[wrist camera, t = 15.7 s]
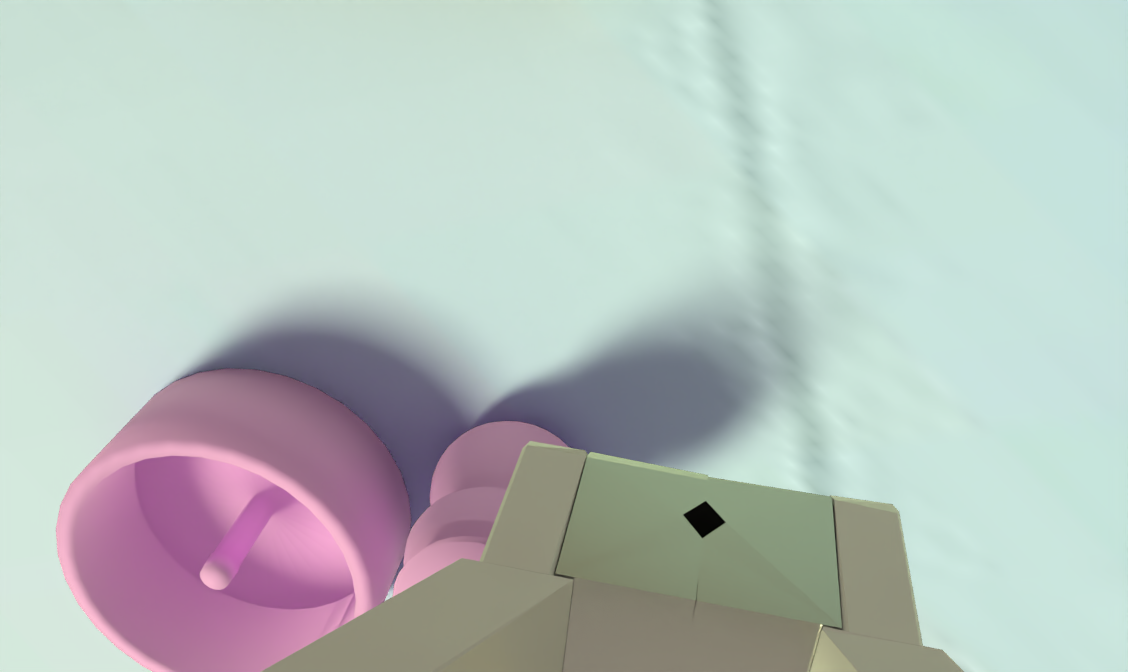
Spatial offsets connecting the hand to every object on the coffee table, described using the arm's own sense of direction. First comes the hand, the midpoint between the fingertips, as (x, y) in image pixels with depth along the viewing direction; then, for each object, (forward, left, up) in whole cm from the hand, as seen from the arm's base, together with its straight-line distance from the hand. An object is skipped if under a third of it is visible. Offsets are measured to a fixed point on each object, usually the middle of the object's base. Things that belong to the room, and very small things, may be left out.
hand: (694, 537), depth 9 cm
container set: (+14, +27, -36) cm, 47 cm away
